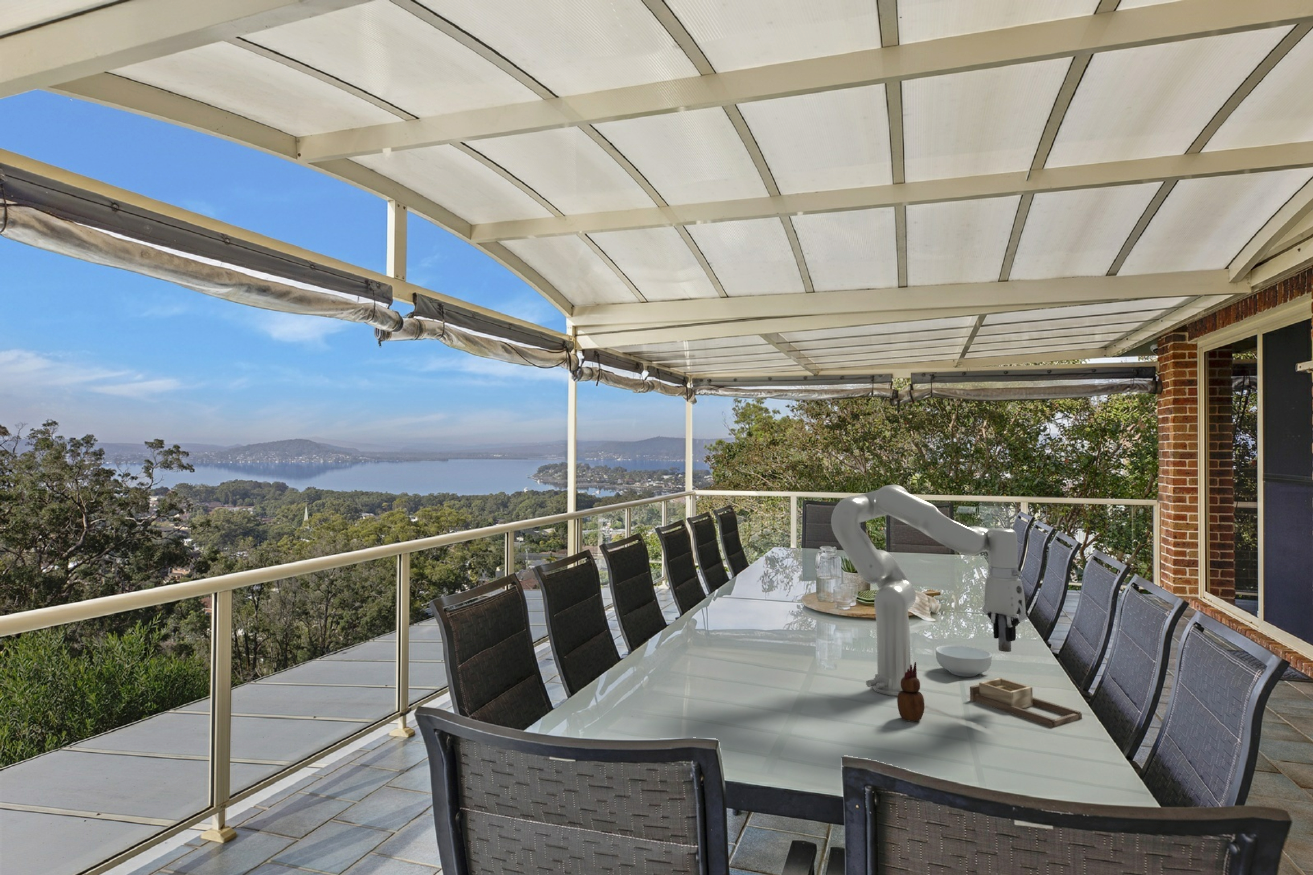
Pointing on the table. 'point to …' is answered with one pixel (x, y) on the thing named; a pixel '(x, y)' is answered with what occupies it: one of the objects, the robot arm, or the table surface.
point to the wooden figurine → (910, 697)
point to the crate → (1007, 692)
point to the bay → (1070, 713)
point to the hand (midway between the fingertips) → (1004, 638)
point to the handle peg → (1003, 634)
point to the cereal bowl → (963, 660)
